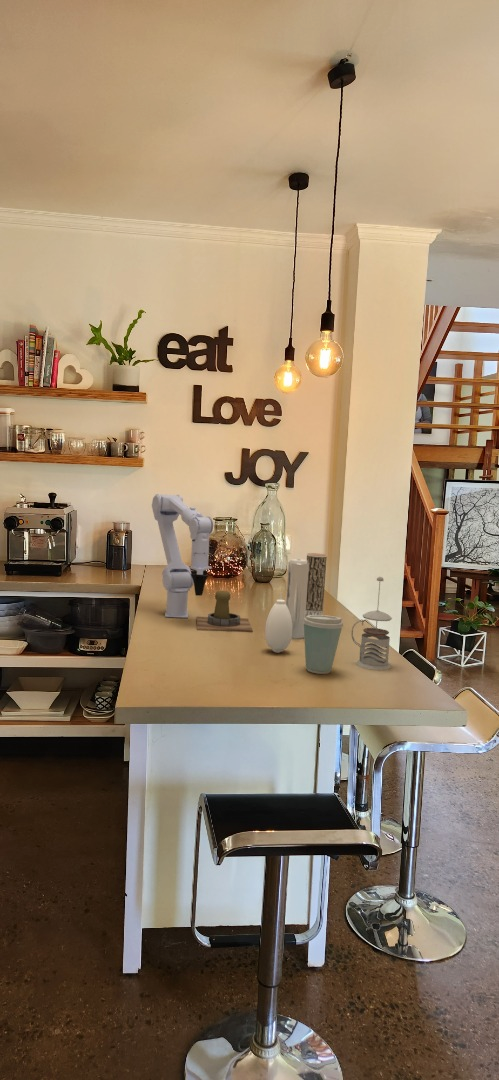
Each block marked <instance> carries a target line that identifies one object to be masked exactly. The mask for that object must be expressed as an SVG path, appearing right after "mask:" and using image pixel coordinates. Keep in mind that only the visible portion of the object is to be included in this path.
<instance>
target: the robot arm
mask: <svg viewBox="0 0 499 1080" xmlns="http://www.w3.org/2000/svg"><path fill="white" fill-rule="evenodd" d="M151 508H152V512H153V517H154V520H155V521H157V525H158V529H159V533H160V538H161V541H162V547H163V552H164V556H165V559H166V564H167V565H166V566H165V567H164V569H163V570H162V571H161V574H162V585H163V586H162V587H164V589H165V590H166V592H167V593H166V595H167V596H166V610H165V613H164V617H165V618H184V619H185V618H186V619H187V618H189V611H188V600H189V599H188V597H189V595H188V594H189V592H190V591H191V589H192V588H193V586H194V593H195V594H194V595H195V596H197V597H198V596H200V597H201V596H203V593H204V588H205V584H206V581H207V579H208V578H209V574H208V570H211V569H213V568H212V566H209V555H210V553H209V551H210V534H212V532H213V531H214V521H213V519H212V518H211V517H210V516H206V517H205V516H204V515H202V513H200V512H199V511H198V510H196V507H194V506H189V507H188V506H187V504H185V502H184V498H183V496H181V495H180V494H158V493H157V494H154V496H153V498H152V502H151ZM179 517H181V518H180V519H181V520H182V522H183V523H185V524H186V525H187V526H188V529H189V534H190V539H191V556H190V557H191V559H190V561H191V562H190V566H188V565H187V564H186V563H184V562H183V560H182V556H181V552H180V548H179V543H178V539H177V535H176V531H175V527H174V522H175V521H177V520H178V518H179Z"/></svg>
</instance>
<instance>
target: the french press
mask: <svg viewBox="0 0 499 1080" xmlns="http://www.w3.org/2000/svg"><path fill="white" fill-rule="evenodd" d="M376 581H377V582H379V584H378V585H379V586H378V593H381V592H380V590H381V582H384V577H383V576H377V578H376ZM379 600H380V594H378V599H377V606H380V605H379V604H380V601H379ZM362 617H363V618H364V619H366V620H370V621H375V622H376V624H375V627H366V628H363V629H362V630H363V632H364V633H362V634H361V644H360V643H358V642H357V640H355V638H354V628H355V626H356V625H357V624H359V623H361V622H362V623H361V626H364V620H363V619H359V620H357V621H355V623H354V624H353V626H352V628H351V639H352V641H353V643H354V644H355V645H356V646H358V647H359V648H360V649H359V659H358V660H357V661H356V662H355V664H356V666H358V667H360V668H363V667H364V668H363V669H368V670H375V671H382V670H383V671H385V670H389V669H391V668H392V665H390V662H389V655H390V654H389V653H390V652H389V650H390V640H391V639H390V638H391V637H390V636H388V635H389V633H390V631H389V630H387V629H382V628H377V627H378V622H390V621H391V620H392V619H393V618H392V616H390V615H389V614H388V613H386V612H384V611H380V610H379V607H377V610H370V611H367V612H365V613H364V614H362ZM372 637H373V638H372ZM375 638H376V639H375Z"/></svg>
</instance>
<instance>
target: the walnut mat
mask: <svg viewBox="0 0 499 1080" xmlns="http://www.w3.org/2000/svg"><path fill="white" fill-rule="evenodd" d="M196 630H197V631H213V632H215V631H216V632H217V631H219V632H242V633H245V632H246V633H253V628H252V625H251V623H250V620H249V618H246V617H245V618H244V617H243V618H242V617H240V625H238V626H233V627H220V626H214V625H210V624H208V616H198V615H197V616H196Z"/></svg>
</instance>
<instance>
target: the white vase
mask: <svg viewBox="0 0 499 1080" xmlns="http://www.w3.org/2000/svg"><path fill="white" fill-rule="evenodd" d="M282 593H283V591H280V595H279V599H276V600H275V603H274V605H272V607H271V609H270V611H269V613H268V616H267V618H266V622H265V628H264V636H265V641H266V644H267V646H268V648H270V650H271V651H273V652H274V653H277V654H279V653H282V652H284V650H287V648H288V647H289V645H290V643H291V641H292V639H291V638H292V619H291V615H290V612H289V609H288V607H287V606H286V599H285V600H284V599H283V598H282V597H283V596H282V595H283V594H282Z"/></svg>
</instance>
